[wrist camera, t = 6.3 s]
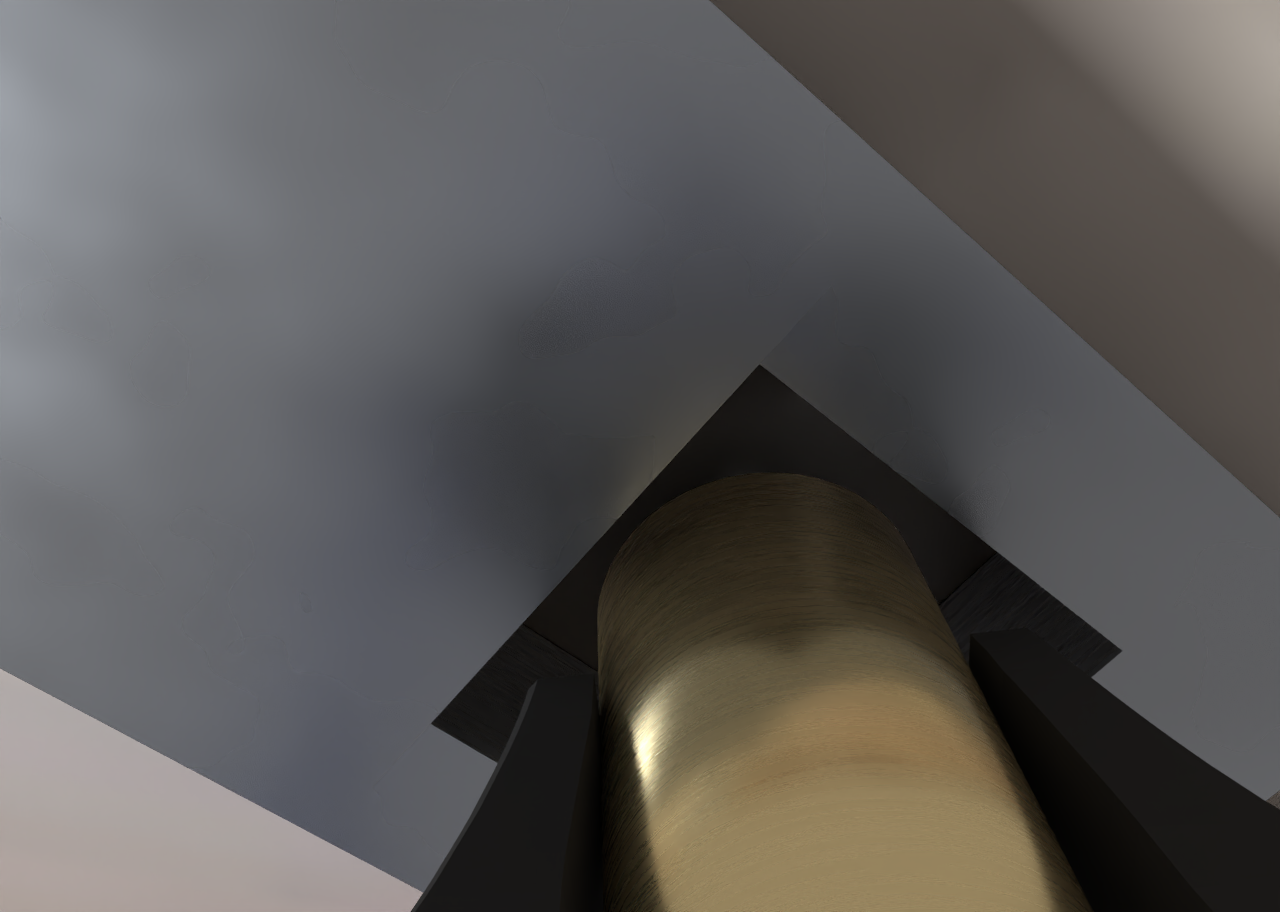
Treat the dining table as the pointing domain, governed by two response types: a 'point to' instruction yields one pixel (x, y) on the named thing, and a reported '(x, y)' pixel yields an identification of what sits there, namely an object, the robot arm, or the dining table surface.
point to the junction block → (510, 384)
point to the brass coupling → (801, 722)
